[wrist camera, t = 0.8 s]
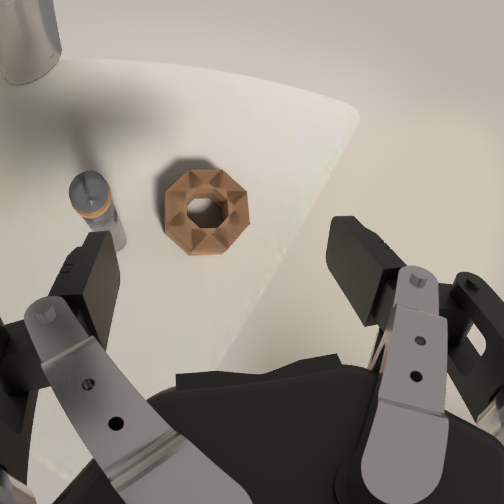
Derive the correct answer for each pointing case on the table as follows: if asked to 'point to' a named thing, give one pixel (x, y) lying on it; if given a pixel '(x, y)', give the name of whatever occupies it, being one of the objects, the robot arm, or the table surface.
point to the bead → (221, 193)
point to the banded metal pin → (96, 205)
